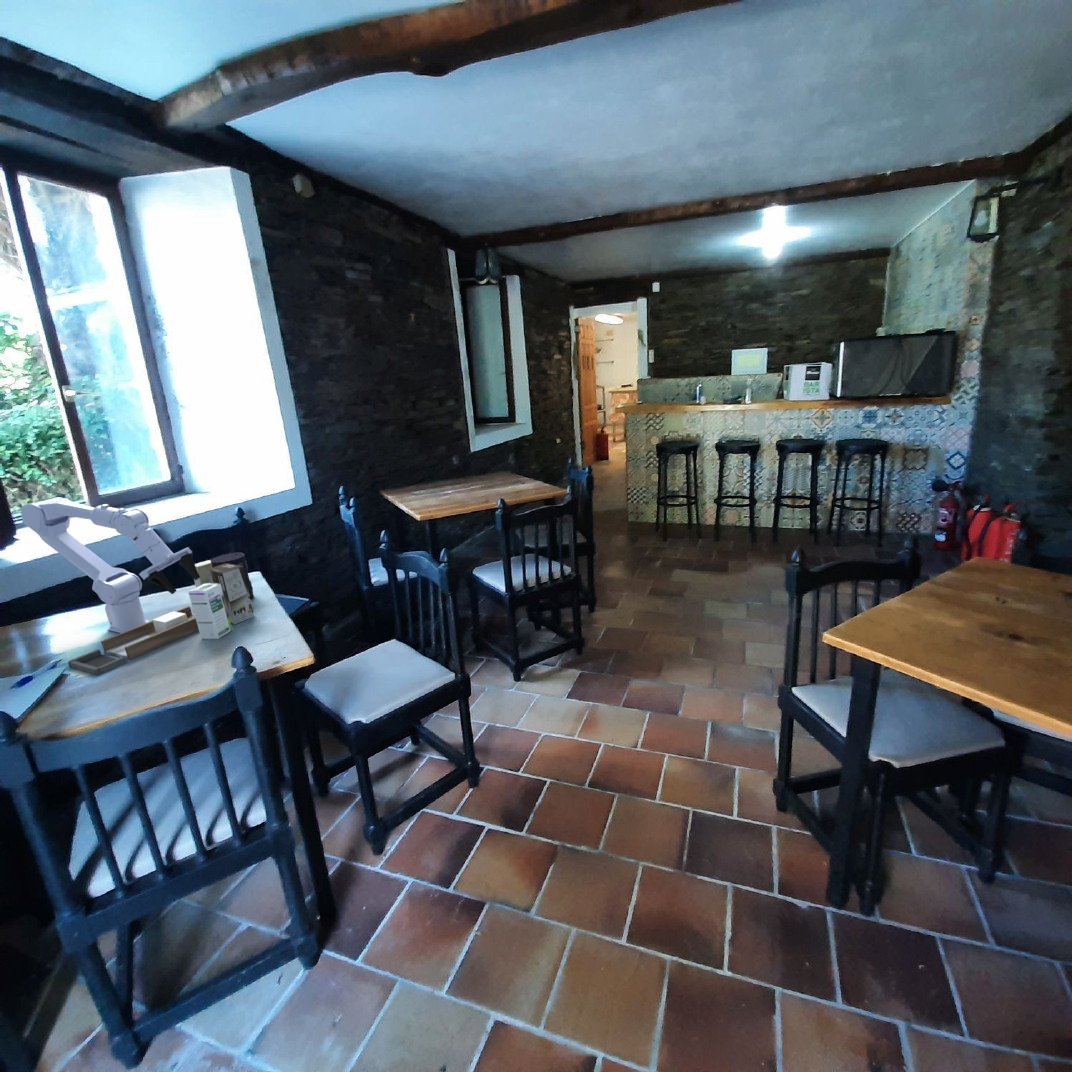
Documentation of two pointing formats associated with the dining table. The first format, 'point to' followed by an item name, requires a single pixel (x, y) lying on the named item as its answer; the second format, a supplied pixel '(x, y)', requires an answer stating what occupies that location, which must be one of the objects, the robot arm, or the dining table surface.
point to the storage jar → (236, 560)
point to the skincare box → (202, 572)
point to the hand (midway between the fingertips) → (186, 585)
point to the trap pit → (96, 662)
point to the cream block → (169, 621)
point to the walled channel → (147, 637)
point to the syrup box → (210, 611)
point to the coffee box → (233, 590)
